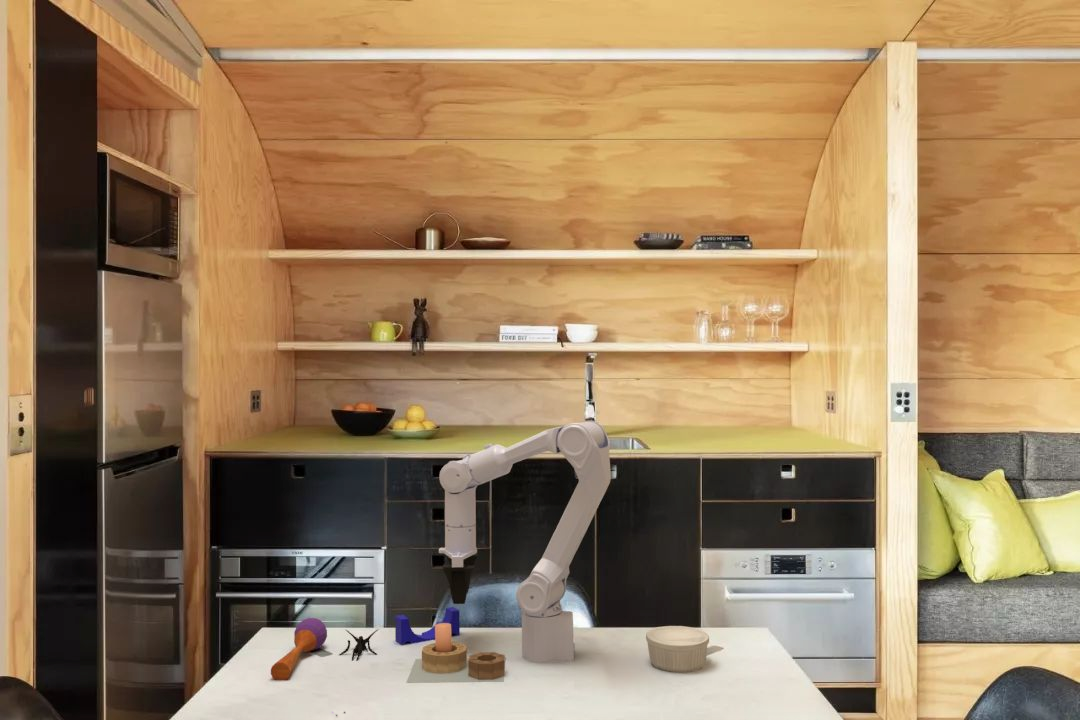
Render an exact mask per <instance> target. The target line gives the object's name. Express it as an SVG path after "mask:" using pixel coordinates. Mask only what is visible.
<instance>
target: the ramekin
mask: <svg viewBox="0 0 1080 720" xmlns="http://www.w3.org/2000/svg"><path fill="white" fill-rule="evenodd" d="M645 640H646V643H647V648H648V655H649V660H650V663H652V665H653V666H654V667H655V668H657V669H659V670H661V671H665V670H666V672H670V671H671V672H672V673H691V672H695V671H699V670H700V669H702V668H703V666H704V665H705V663H706V657H707V653H708V645H709V643H710V636H709V634H708V633H707V632H706V631H704V630H701V629H699V628H696V627H691V626H684V625H665V626H657V627H653V628H651V629H649V630H648V631H647V632H646V633H645ZM671 672H670V673H671Z"/></svg>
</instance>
